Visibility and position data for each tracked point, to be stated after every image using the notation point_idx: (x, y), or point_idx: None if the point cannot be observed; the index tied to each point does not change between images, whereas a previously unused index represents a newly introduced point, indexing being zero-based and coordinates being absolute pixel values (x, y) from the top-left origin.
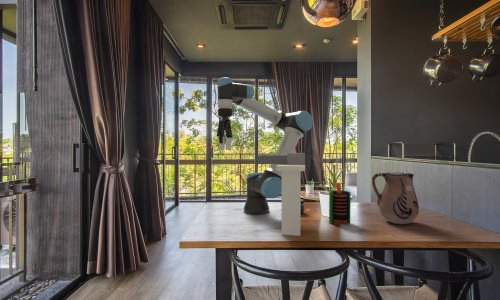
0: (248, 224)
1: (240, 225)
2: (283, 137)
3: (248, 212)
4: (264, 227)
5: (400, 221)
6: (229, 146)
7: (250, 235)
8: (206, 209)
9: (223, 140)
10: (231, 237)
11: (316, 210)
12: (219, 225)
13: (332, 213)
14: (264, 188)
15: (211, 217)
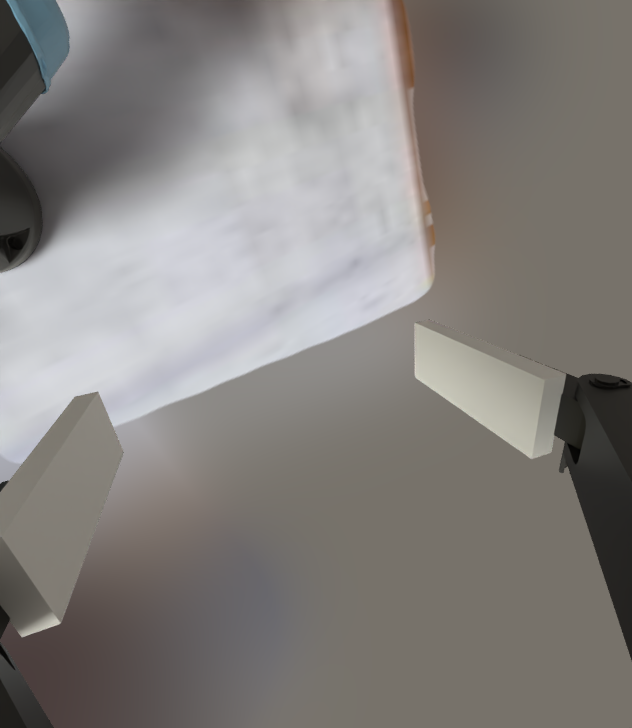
0: (231, 169)
1: (256, 198)
2: None
3: (39, 230)
4: (249, 85)
5: None
6: (90, 437)
7: (357, 121)
8: None
9: (513, 359)
10: (388, 181)
11: None
12: (281, 274)
13: None
14: (66, 35)
15: (191, 353)
